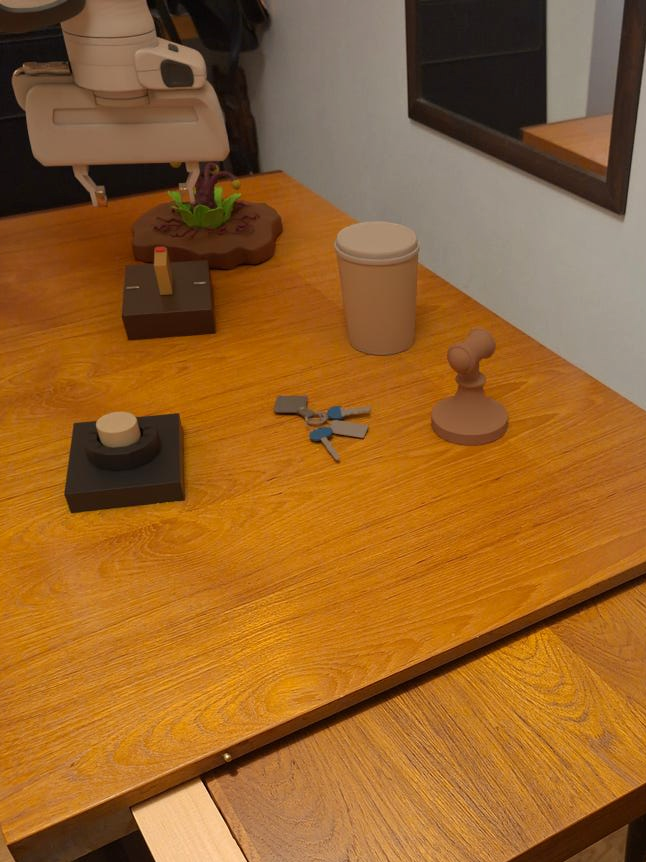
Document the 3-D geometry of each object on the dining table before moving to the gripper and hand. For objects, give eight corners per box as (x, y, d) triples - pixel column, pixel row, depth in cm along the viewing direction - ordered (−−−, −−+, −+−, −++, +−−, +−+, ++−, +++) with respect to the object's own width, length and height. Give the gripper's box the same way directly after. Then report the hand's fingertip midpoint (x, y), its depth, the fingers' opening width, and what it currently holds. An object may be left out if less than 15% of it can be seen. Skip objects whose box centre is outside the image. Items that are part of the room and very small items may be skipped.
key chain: (262, 405, 95) (261, 398, 94) (328, 381, 99) (327, 374, 98) (336, 465, 88) (335, 458, 87) (404, 437, 92) (403, 430, 91)
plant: (156, 211, 132) (138, 127, 124) (289, 216, 132) (280, 132, 125) (117, 267, 118) (94, 176, 110) (266, 273, 118) (253, 182, 110)
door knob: (527, 330, 88) (487, 363, 83) (521, 418, 95) (483, 453, 90) (458, 309, 91) (415, 340, 86) (456, 396, 98) (416, 430, 93)
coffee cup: (434, 332, 108) (434, 230, 100) (397, 366, 102) (393, 260, 94) (367, 315, 111) (361, 214, 102) (327, 347, 105) (317, 242, 96)
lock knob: (172, 294, 106) (165, 262, 104) (160, 295, 106) (153, 263, 103) (172, 276, 110) (166, 245, 107) (160, 277, 109) (154, 246, 107)
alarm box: (71, 514, 81) (57, 477, 78) (79, 442, 89) (67, 406, 86) (184, 501, 83) (176, 464, 80) (183, 431, 91) (175, 396, 88)
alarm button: (99, 450, 82) (94, 434, 81) (101, 429, 84) (96, 413, 83) (140, 446, 83) (136, 430, 82) (141, 425, 85) (137, 409, 84)
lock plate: (127, 340, 104) (121, 314, 102) (131, 288, 114) (125, 263, 112) (216, 333, 106) (211, 307, 104) (212, 283, 116) (207, 258, 114)
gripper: (2, 70, 87) (44, 218, 97) (219, 68, 91) (238, 210, 101) (9, 54, 91) (48, 197, 101) (216, 53, 95) (234, 190, 105)
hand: (145, 204), depth 101 cm, fingers open, 8 cm apart
